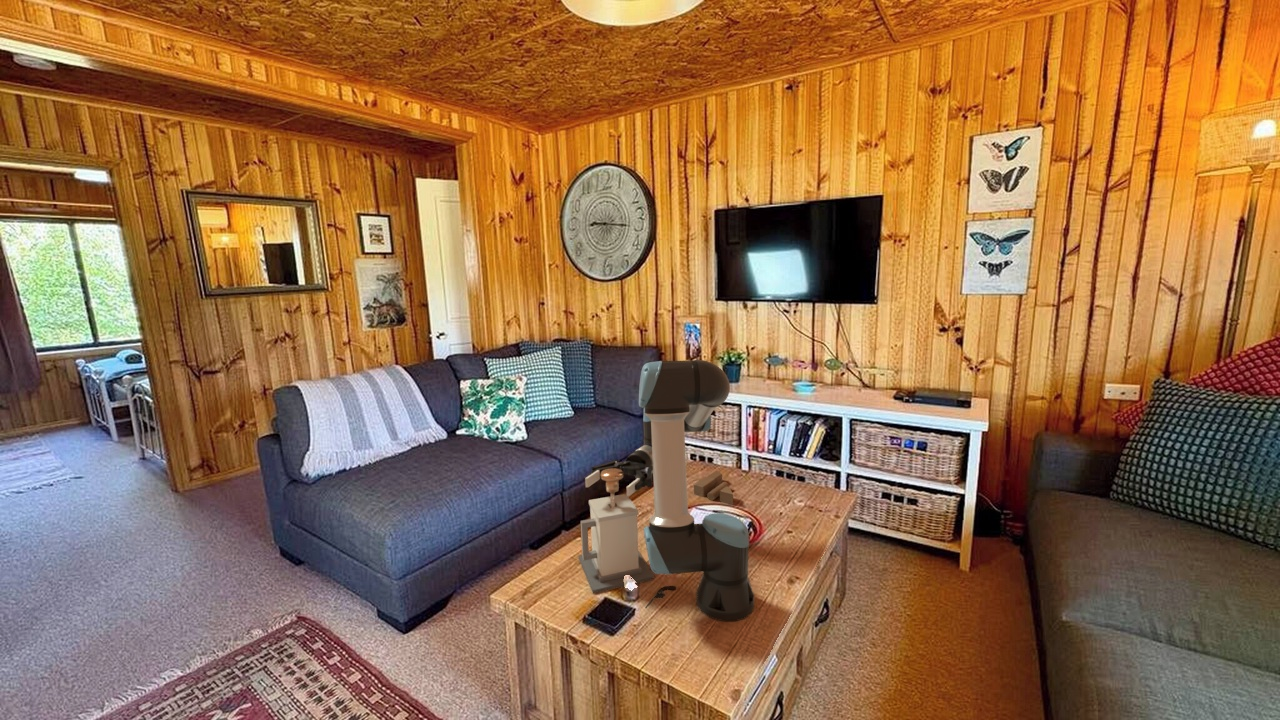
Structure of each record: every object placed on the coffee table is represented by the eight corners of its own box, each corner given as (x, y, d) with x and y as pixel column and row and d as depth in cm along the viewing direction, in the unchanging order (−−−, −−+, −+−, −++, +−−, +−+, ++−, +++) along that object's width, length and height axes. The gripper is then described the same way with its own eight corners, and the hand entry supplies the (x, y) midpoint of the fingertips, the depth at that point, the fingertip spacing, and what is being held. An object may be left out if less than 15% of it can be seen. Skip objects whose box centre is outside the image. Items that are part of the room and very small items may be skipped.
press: (641, 572, 147) (640, 511, 144) (588, 584, 142) (585, 521, 139) (628, 550, 159) (626, 492, 155) (579, 560, 154) (576, 501, 150)
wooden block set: (692, 482, 197) (715, 467, 211) (692, 496, 198) (715, 480, 212) (731, 493, 187) (753, 476, 201) (731, 507, 188) (752, 490, 202)
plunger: (628, 549, 148) (625, 475, 144) (606, 553, 146) (603, 478, 142) (621, 538, 154) (619, 467, 150) (601, 542, 152) (598, 470, 148)
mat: (654, 579, 146) (654, 576, 146) (592, 593, 140) (592, 590, 140) (634, 547, 163) (634, 544, 162) (578, 558, 157) (578, 555, 157)
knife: (664, 584, 144) (664, 582, 144) (677, 588, 142) (677, 586, 142) (639, 615, 132) (639, 613, 132) (652, 620, 130) (652, 618, 130)
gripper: (677, 479, 157) (646, 508, 139) (608, 465, 169) (570, 491, 150) (677, 455, 156) (645, 482, 137) (607, 444, 167) (569, 467, 149)
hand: (606, 487), depth 144 cm, fingers open, 13 cm apart
